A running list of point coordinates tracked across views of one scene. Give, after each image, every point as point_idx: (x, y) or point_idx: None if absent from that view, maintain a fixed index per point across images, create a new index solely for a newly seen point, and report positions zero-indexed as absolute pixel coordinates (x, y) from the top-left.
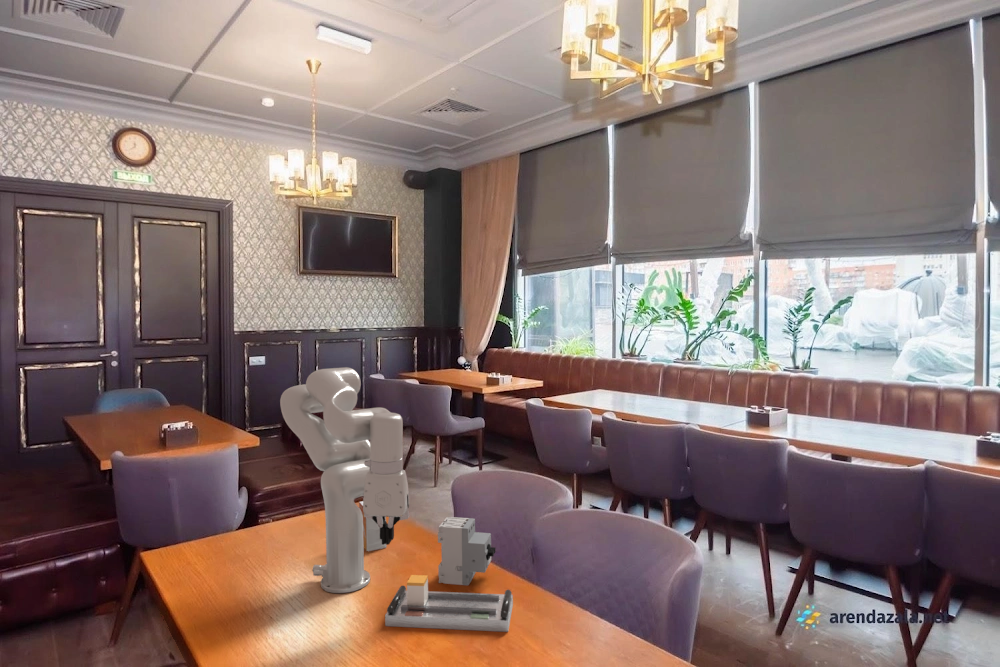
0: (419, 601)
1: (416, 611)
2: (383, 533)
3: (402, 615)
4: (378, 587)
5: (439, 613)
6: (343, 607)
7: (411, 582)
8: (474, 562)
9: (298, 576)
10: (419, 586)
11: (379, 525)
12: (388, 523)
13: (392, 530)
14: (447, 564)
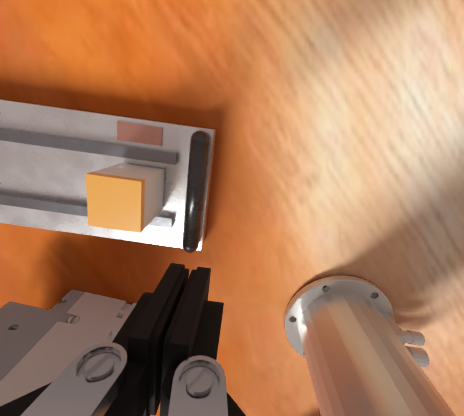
0: (127, 166)
1: (135, 140)
2: (183, 309)
3: (168, 126)
4: (261, 295)
5: (78, 132)
6: (326, 218)
7: (126, 180)
8: (15, 323)
9: (442, 350)
10: (106, 174)
11: (208, 377)
12: (103, 386)
13: (119, 341)
14: (93, 330)
